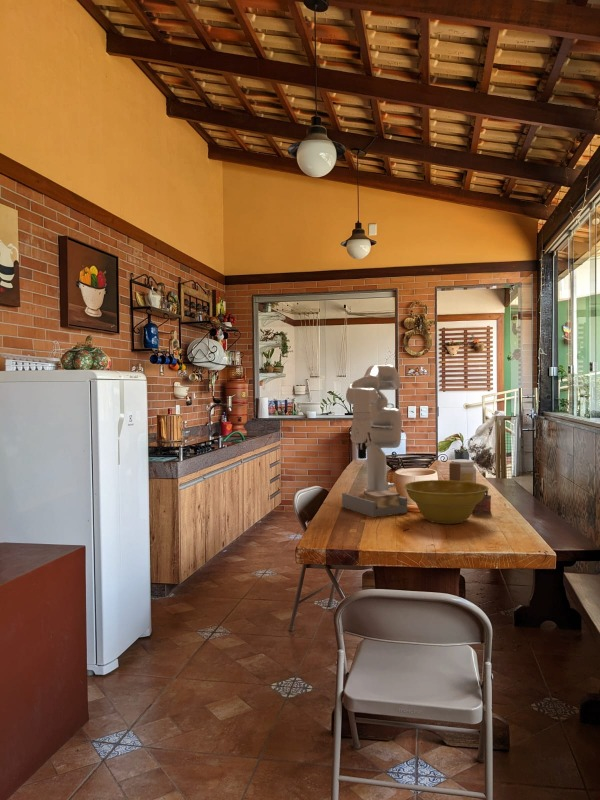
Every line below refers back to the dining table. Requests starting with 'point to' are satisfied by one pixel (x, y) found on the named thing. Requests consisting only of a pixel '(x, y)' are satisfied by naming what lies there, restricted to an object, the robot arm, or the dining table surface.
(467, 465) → the supplement tub
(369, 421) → the robot arm
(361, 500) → the bay
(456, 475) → the wooden block
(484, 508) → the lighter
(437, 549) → the dining table surface
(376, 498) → the crate
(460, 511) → the planter bowl
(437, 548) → the dining table surface
